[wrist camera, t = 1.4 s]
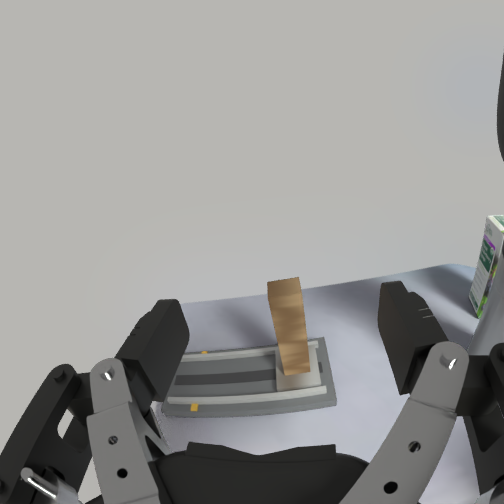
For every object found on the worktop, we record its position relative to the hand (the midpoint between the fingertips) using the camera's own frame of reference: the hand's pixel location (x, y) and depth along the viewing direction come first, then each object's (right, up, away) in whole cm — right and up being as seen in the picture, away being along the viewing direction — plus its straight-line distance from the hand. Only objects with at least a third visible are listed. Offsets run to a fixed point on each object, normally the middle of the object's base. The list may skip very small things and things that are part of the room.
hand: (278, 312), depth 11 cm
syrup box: (+36, -6, +21) cm, 43 cm away
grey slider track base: (-2, -15, +23) cm, 27 cm away
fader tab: (+5, -12, +21) cm, 24 cm away
